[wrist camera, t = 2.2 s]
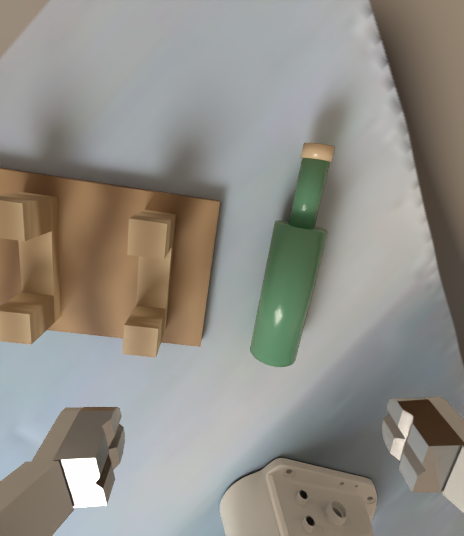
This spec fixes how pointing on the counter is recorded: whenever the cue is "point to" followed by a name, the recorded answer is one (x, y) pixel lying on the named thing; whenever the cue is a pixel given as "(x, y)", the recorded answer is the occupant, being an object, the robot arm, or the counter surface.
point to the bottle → (292, 265)
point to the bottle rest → (103, 261)
